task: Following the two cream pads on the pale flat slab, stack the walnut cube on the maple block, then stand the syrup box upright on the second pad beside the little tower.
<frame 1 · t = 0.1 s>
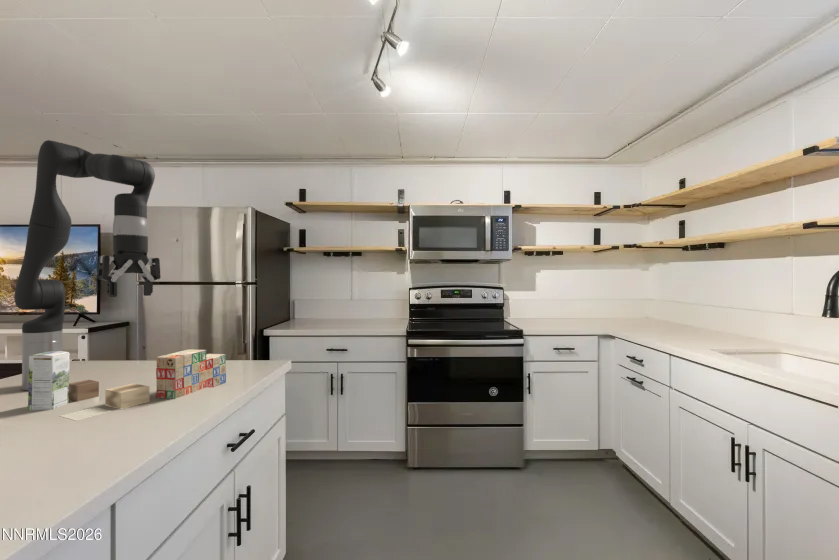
hand: (130, 296, 108), 29 cm above the countertop, tool pointing down, fingers open, 8 cm apart
stack of blocks: (193, 391, 124), on the countertop
maple block: (127, 402, 109), point 1 cm above the countertop, touching pale flat slab
pale flat slab: (102, 408, 106), on the countertop
syrup box: (49, 409, 106), on the countertop
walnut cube: (83, 400, 113), on the countertop
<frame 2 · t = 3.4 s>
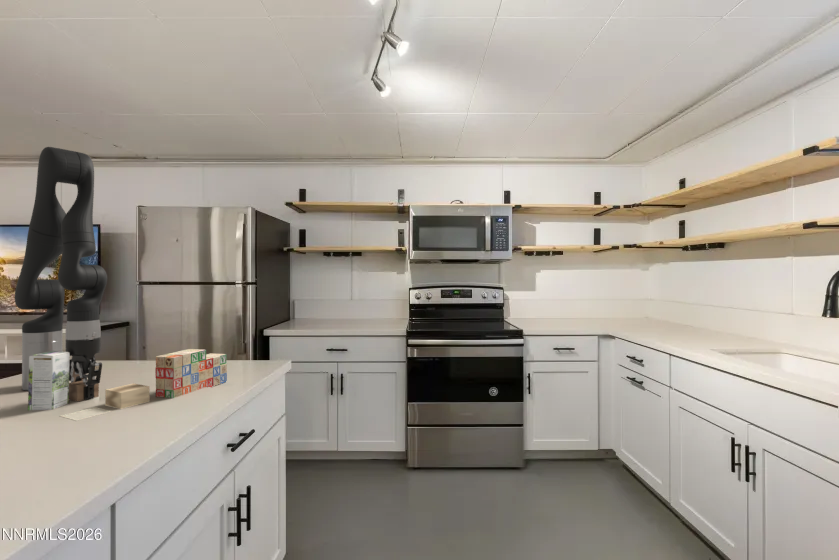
hand: (83, 397, 113), 1 cm above the countertop, tool pointing down, fingers closed on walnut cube, 5 cm apart
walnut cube: (83, 400, 113), on the countertop, touching gripper
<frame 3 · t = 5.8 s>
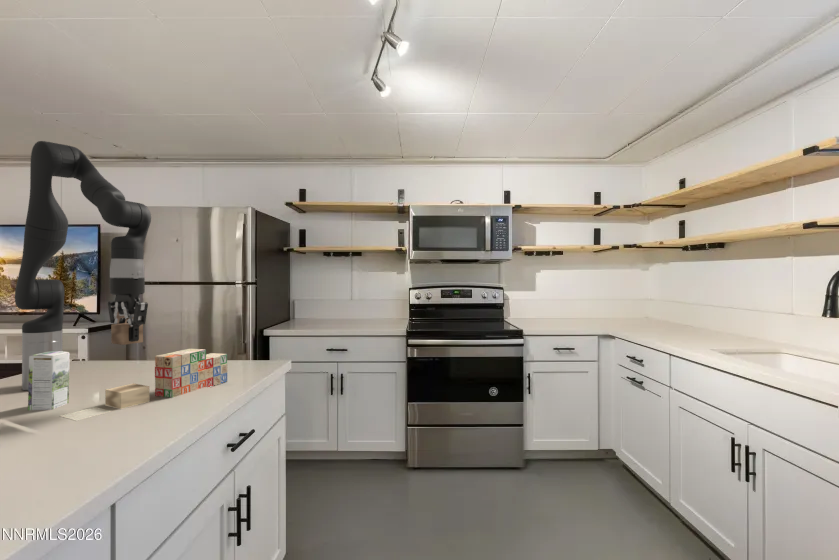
hand: (127, 340, 109), 17 cm above the countertop, tool pointing down, fingers closed on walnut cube, 5 cm apart
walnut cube: (127, 342, 109), point 17 cm above the countertop, touching gripper
when the fingers open (6 cm above the countertop, at t = 8.2 s): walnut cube stays where it is, resting on maple block.
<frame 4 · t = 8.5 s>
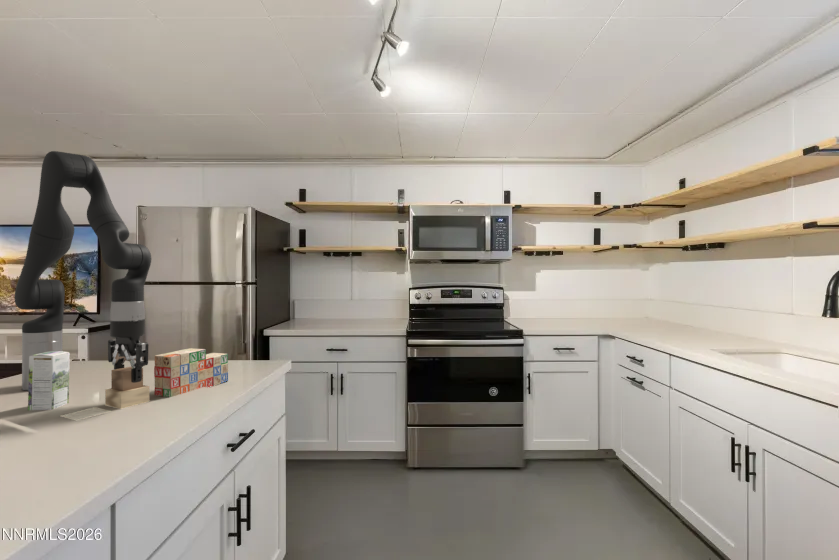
hand: (127, 380, 109), 7 cm above the countertop, tool pointing down, fingers open, 7 cm apart
maple block: (127, 402, 109), point 1 cm above the countertop, touching pale flat slab, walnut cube
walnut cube: (127, 387, 109), point 5 cm above the countertop, touching maple block
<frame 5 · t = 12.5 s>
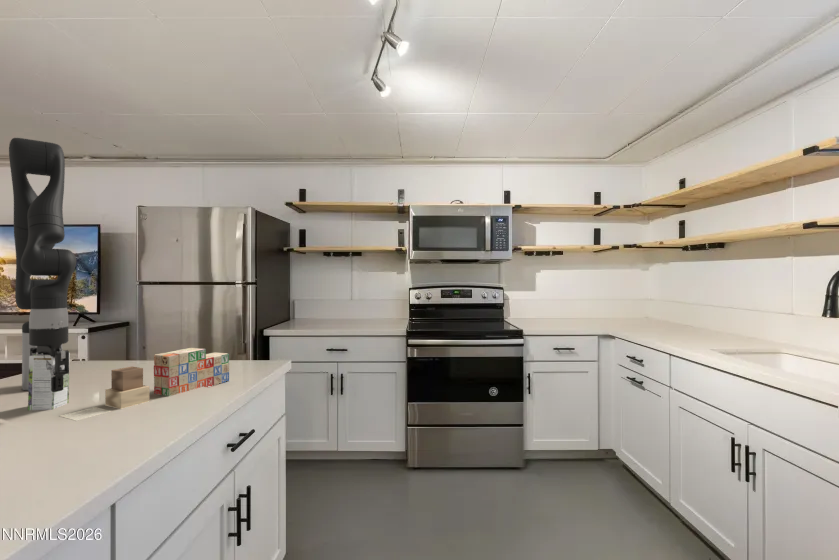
hand: (49, 389, 106), 5 cm above the countertop, tool pointing down, fingers closed on syrup box, 7 cm apart
syrup box: (49, 409, 106), on the countertop, touching gripper
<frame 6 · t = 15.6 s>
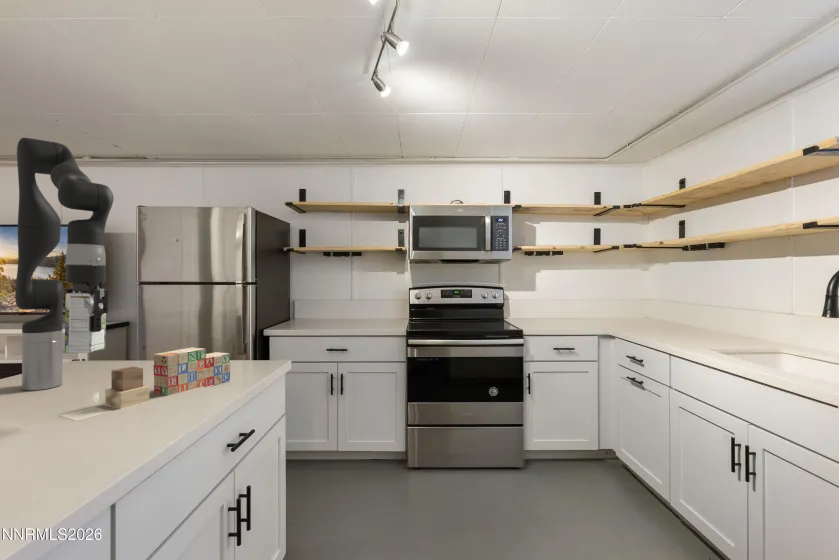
hand: (86, 330, 100), 21 cm above the countertop, tool pointing down, fingers closed on syrup box, 7 cm apart
syrup box: (86, 352, 100), point 16 cm above the countertop, touching gripper
when the fingers open (7 cm above the countertop, at t = 18.8 s): syrup box stays where it is, resting on pale flat slab.
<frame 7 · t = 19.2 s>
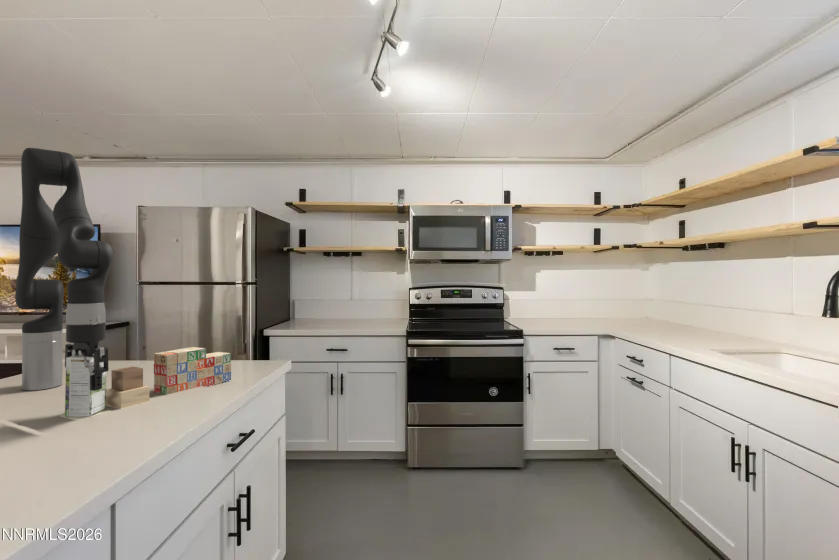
hand: (86, 387, 100), 7 cm above the countertop, tool pointing down, fingers open, 8 cm apart
syrup box: (86, 414, 100), resting on pale flat slab
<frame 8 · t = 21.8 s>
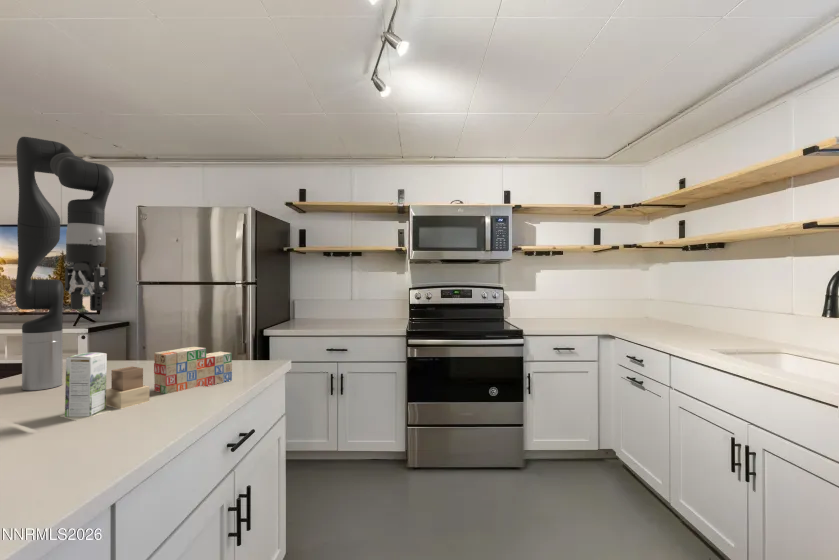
hand: (86, 309, 100), 26 cm above the countertop, tool pointing down, fingers open, 8 cm apart
at the end: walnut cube 0.1 cm off-centre on the maple block, point 4.0 cm above the maple block's base; syrup box inside the target area (0.0 cm from its centre), point 0.5 cm above the countertop; syrup box tilted 0° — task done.
